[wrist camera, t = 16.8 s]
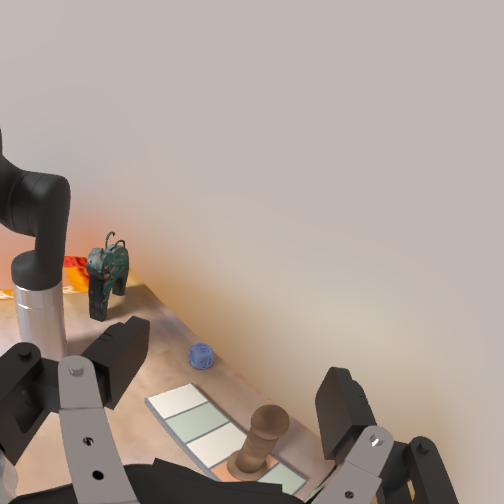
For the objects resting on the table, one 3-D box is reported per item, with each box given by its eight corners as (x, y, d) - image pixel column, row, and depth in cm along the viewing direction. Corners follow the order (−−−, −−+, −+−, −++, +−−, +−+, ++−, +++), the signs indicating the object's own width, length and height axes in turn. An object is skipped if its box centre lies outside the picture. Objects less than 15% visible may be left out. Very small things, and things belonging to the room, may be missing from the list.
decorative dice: (194, 370, 51) (197, 356, 50) (187, 358, 54) (190, 343, 53) (212, 368, 53) (215, 353, 52) (204, 356, 56) (207, 342, 55)
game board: (144, 402, 38) (144, 397, 38) (191, 387, 46) (192, 381, 45) (261, 521, 21) (264, 519, 21) (305, 483, 29) (308, 479, 29)
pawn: (218, 463, 29) (240, 406, 26) (245, 446, 34) (272, 387, 30) (246, 488, 26) (279, 437, 23) (272, 468, 30) (309, 413, 27)
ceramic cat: (103, 327, 54) (106, 242, 49) (79, 318, 53) (80, 235, 48) (130, 292, 73) (138, 224, 68) (111, 287, 72) (117, 219, 67)
